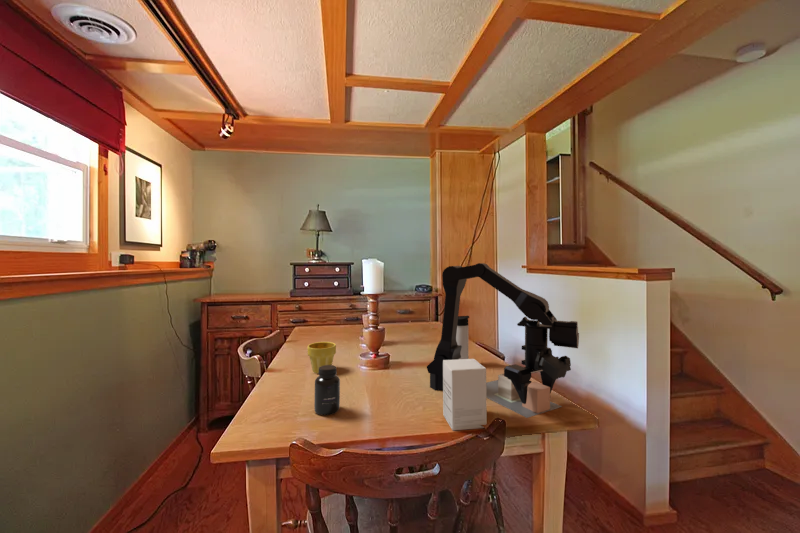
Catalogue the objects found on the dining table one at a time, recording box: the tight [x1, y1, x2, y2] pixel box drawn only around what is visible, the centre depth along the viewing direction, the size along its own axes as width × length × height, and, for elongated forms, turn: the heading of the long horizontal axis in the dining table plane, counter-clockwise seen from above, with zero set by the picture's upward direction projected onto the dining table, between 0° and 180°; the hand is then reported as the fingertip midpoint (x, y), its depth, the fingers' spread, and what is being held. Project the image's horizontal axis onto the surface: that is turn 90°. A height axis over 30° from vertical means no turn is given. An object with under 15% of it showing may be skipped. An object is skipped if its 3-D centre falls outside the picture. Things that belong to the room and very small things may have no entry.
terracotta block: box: [522, 381, 551, 413], centre depth 93 cm, size 5×5×6 cm
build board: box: [486, 379, 563, 419], centre depth 101 cm, size 14×24×1 cm, turn 29°
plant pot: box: [306, 341, 337, 374], centre depth 127 cm, size 10×10×10 cm
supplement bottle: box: [313, 364, 341, 416], centre depth 93 cm, size 7×7×12 cm
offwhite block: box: [497, 373, 520, 401], centre depth 101 cm, size 5×5×6 cm
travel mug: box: [456, 315, 470, 359], centre depth 131 cm, size 6×7×20 cm
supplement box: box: [442, 358, 488, 431], centre depth 87 cm, size 9×9×15 cm
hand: (535, 400), depth 93 cm, fingers open, 9 cm apart
